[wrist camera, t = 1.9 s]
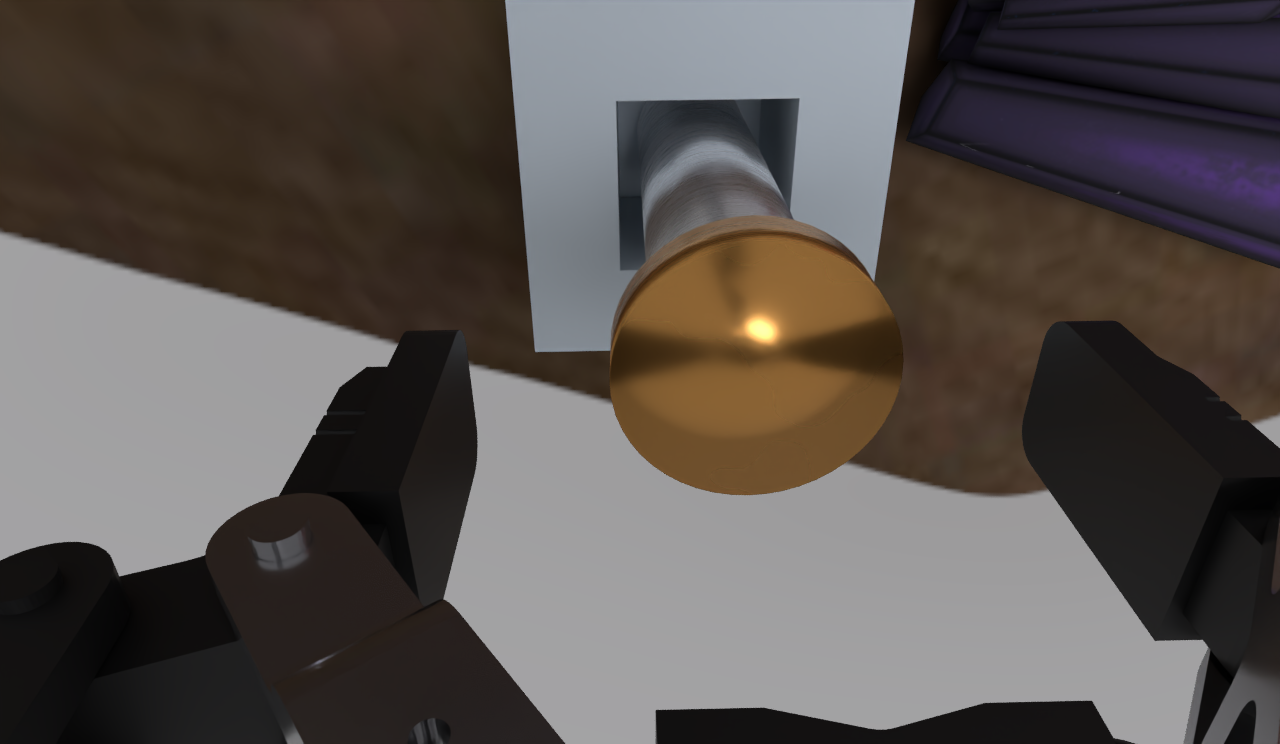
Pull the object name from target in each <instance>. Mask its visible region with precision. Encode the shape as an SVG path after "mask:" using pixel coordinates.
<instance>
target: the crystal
mask: <svg viewBox="0 0 1280 744" xmlns="http://www.w3.org/2000/svg"><path fill="white" fill-rule="evenodd" d="M937 60H941V61H947V62H948V64H947V65H946V66H945V68H944V69H943V70H942V71H941V73H940V74H939V75H938V76H937V78H936V79H935V80H934V82H933V83H932V84H931V85H930V87H929V88H928V89H927V91H926V92H925V93H924V94H923V96H922V97H921V100H920V103H919V105H918V108H917V111H916V114H915V117H914V119H913V122H912V125H911V128H910V131H909V133H908V136H907V139H906V141H908V142H911V143H914V144H917V145H920V146H923V147H926V148H929V149H932V150H935V151H937V152H940V153H943V154H946V155H949V156H952V157H955V158H958V159H961V160H964V161H967V162H970V163H973V164H975V165H978V166H981V167H984V168H987V169H990V170H993V171H996V172H999V173H1002V174H1005V175H1008V176H1011V177H1014V178H1016V179H1019V180H1022V181H1025V182H1028V183H1031V184H1034V185H1037V186H1040V187H1043V188H1046V189H1049V190H1052V191H1054V192H1057V193H1060V194H1063V195H1066V196H1069V197H1072V198H1075V199H1078V200H1081V201H1084V202H1087V203H1090V204H1093V205H1095V206H1098V207H1101V208H1104V209H1107V210H1110V211H1113V212H1116V213H1119V214H1122V215H1125V216H1128V217H1131V218H1133V219H1136V220H1139V221H1142V222H1145V223H1148V224H1151V225H1154V226H1157V227H1160V228H1163V229H1166V230H1169V231H1172V232H1174V233H1177V234H1180V235H1183V236H1186V237H1189V238H1192V239H1195V240H1198V241H1201V242H1204V243H1207V244H1210V245H1212V246H1215V247H1218V248H1221V249H1224V250H1227V251H1230V252H1233V253H1236V254H1239V255H1242V256H1245V257H1248V258H1251V259H1253V260H1256V261H1259V262H1262V263H1265V264H1268V265H1271V266H1274V267H1277V268H1280V0H958V2H957V4H956V6H955V8H954V10H953V12H952V14H951V16H950V18H949V21H948V23H947V25H946V27H945V30H944V32H943V34H942V36H941V40H940V46H939V52H938V58H937Z"/></svg>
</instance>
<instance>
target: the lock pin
mask: <svg viewBox="0 0 1280 744" xmlns="http://www.w3.org/2000/svg"><path fill="white" fill-rule="evenodd" d="M637 135H638V151H639V166H640V181H641V197H642V212H643V228H644V243H645V258H646V262H645V263H644V264H643V265H642V266H641V268H640V269H639V270H638V271H637V272H636V274H635V275H634V276H633V278H632V279H631V281H630V282H629V284H628V285H627V287H626V289H625V291H624V293H623V295H622V297H621V298H620V300H619V303H618V306H617V309H616V312H615V315H614V319H613V324H612V329H611V344H610V392H611V400H612V404H613V407H614V411H615V415H616V417H617V419H618V421H619V424H620V426H621V428H622V430H623V432H624V433H625V435H626V436H627V438H628V440H629V441H630V443H631V444H632V445H633V446H634V448H635V449H636V450H637V451H638V452H639V453H640V454H641V455H642V456H643V457H644V458H645V459H646V460H647V461H648V462H649V463H650V464H652V465H653V466H654V467H656V468H657V469H659V470H660V471H662V472H663V473H664V474H666V475H668V476H670V477H672V478H674V479H676V480H678V481H679V482H682V483H684V484H687V485H690V486H692V487H695V488H698V489H702V490H706V491H710V492H715V493H722V494H730V495H757V494H767V493H773V492H779V491H784V490H787V489H791V488H795V487H798V486H801V485H804V484H806V483H809V482H811V481H814V480H817V479H818V478H820V477H822V476H824V475H826V474H828V473H830V472H832V471H833V470H835V469H837V468H838V467H840V466H841V465H843V464H844V463H846V462H847V461H848V460H850V459H851V458H852V457H853V456H854V455H856V454H857V453H858V452H859V451H860V450H861V449H862V448H863V447H864V446H865V445H866V444H867V443H868V442H869V441H870V440H871V439H872V438H873V437H874V435H875V434H876V433H877V431H878V430H879V429H880V427H881V426H882V425H883V423H884V421H885V420H886V418H887V416H888V414H889V413H890V411H891V409H892V407H893V404H894V402H895V399H896V397H897V394H898V391H899V387H900V383H901V379H902V370H903V346H902V341H901V336H900V331H899V328H898V325H897V322H896V320H895V317H894V315H893V312H892V311H891V309H890V307H889V306H888V304H887V302H886V301H885V299H884V297H883V296H882V294H881V292H880V291H879V289H878V288H877V286H876V284H875V283H874V281H873V279H872V278H871V276H870V274H869V273H868V271H867V270H866V268H865V266H864V265H863V264H862V263H861V262H860V260H859V259H858V258H857V257H856V255H855V254H854V253H853V252H852V251H850V250H849V249H848V248H847V247H846V246H845V245H844V244H843V243H842V242H840V241H839V240H837V239H836V238H834V237H832V236H831V235H829V234H828V233H826V232H824V231H822V230H820V229H818V228H816V227H814V226H812V225H809V224H806V223H803V222H799V221H796V220H794V219H793V217H792V215H791V212H790V210H789V208H788V206H787V204H786V202H785V200H784V198H783V196H782V194H781V192H780V190H779V188H778V186H777V184H776V182H775V180H774V178H773V176H772V174H771V172H770V170H769V168H768V166H767V164H766V162H765V160H764V158H763V156H762V154H761V152H760V150H759V148H758V146H757V144H756V142H755V140H754V138H753V136H752V134H751V132H750V129H749V127H748V125H747V123H746V121H745V119H744V117H743V115H742V113H741V111H740V109H739V107H738V105H737V103H736V101H735V99H724V100H658V101H644V103H643V105H642V107H641V110H640V113H639V116H638V122H637Z"/></svg>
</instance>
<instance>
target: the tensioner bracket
mask: <svg viewBox="0 0 1280 744" xmlns="http://www.w3.org/2000/svg"><path fill="white" fill-rule="evenodd" d="M505 3H506V15H507V27H508V38H509V50H510V62H511V74H512V85H513V97H514V109H515V121H516V132H517V144H518V156H519V168H520V179H521V191H522V203H523V215H524V226H525V238H526V250H527V262H528V273H529V285H530V297H531V309H532V320H533V332H534V344H535V352H560V351H610V344H611V329H612V324H613V319H614V315H615V312H616V309H617V306H618V303H619V300H620V298H621V297H622V295H623V293H624V291H625V289H626V287H627V285H628V284H629V282H630V281H631V279H632V278H633V276H634V275H635V274H636V272H637V271H638V270H639V269H640V268H641V266H642V265H643V264H644V263H645V262H646V258H645V243H644V228H643V212H642V197H641V181H640V166H639V151H638V135H637V122H638V116H639V113H640V110H641V107H642V105H643V103H644V101H658V100H724V99H735V101H736V103H737V105H738V107H739V109H740V111H741V113H742V115H743V117H744V119H745V121H746V123H747V125H748V127H749V129H750V132H751V134H752V136H753V138H754V140H755V142H756V144H757V146H758V148H759V150H760V152H761V154H762V156H763V158H764V160H765V162H766V164H767V166H768V168H769V170H770V172H771V174H772V176H773V178H774V180H775V182H776V184H777V186H778V188H779V190H780V192H781V194H782V196H783V198H784V200H785V202H786V204H787V206H788V208H789V210H790V212H791V215H792V217H793V219H794V220H796V221H799V222H803V223H806V224H809V225H812V226H814V227H816V228H818V229H820V230H822V231H824V232H826V233H828V234H829V235H831V236H832V237H834V238H836V239H837V240H839V241H840V242H842V243H843V244H844V245H845V246H846V247H847V248H848V249H849V250H850V251H852V252H853V253H854V254H855V255H856V257H857V258H858V259H859V260H860V262H861V263H862V264H863V265H864V266H865V268H866V270H867V271H868V273H869V274H870V276H871V278H872V279H873V281H874V278H875V271H876V265H877V258H878V251H879V244H880V237H881V230H882V223H883V216H884V209H885V203H886V196H887V189H888V182H889V175H890V168H891V161H892V154H893V147H894V141H895V134H896V127H897V120H898V113H899V106H900V99H901V92H902V85H903V79H904V72H905V65H906V58H907V51H908V44H909V37H910V30H911V24H912V17H913V10H914V3H915V0H505Z"/></svg>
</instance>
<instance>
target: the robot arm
mask: <svg viewBox="0 0 1280 744" xmlns="http://www.w3.org/2000/svg"><path fill="white" fill-rule="evenodd" d="M1219 398H1220V397H1219V396H1218V395H1217V394H1216V393H1215V392H1213V391H1212V390H1211V389H1210V388H1209V387H1208V386H1206V385H1205V384H1204V383H1203V382H1202V381H1201V380H1199V379H1198V378H1197V377H1196V376H1195V375H1194V374H1192V373H1190V372H1188V371H1186V370H1184V369H1182V368H1180V367H1178V366H1176V365H1174V364H1172V363H1170V362H1168V361H1166V360H1164V359H1162V358H1160V357H1158V356H1157V355H1156V354H1154V353H1153V352H1152V351H1151V350H1150V349H1149V348H1148V347H1147V346H1145V345H1144V344H1143V343H1142V342H1141V341H1140V340H1139V339H1137V338H1136V337H1135V336H1134V335H1133V334H1132V333H1131V332H1129V331H1128V330H1127V329H1126V328H1125V327H1124V326H1123V325H1121V324H1120V323H1119V322H1116V321H1067V322H1056V323H1055V324H1053V325H1052V326H1051V327H1050V328H1049V330H1048V331H1047V333H1046V336H1045V338H1044V341H1043V345H1042V349H1041V353H1040V357H1039V360H1038V364H1037V368H1036V372H1035V376H1034V380H1033V383H1032V387H1031V391H1030V395H1029V399H1028V402H1027V406H1026V410H1025V414H1024V418H1023V425H1022V439H1023V446H1024V450H1025V453H1026V456H1027V459H1028V461H1029V462H1030V464H1031V466H1032V467H1033V468H1034V470H1035V471H1036V473H1037V474H1038V476H1039V477H1040V478H1041V480H1042V481H1043V483H1044V484H1045V485H1046V487H1047V488H1048V490H1049V491H1050V493H1051V494H1052V495H1053V497H1054V498H1055V500H1056V501H1057V502H1058V504H1059V505H1060V507H1061V508H1062V509H1063V511H1064V512H1065V514H1066V515H1067V517H1068V518H1069V520H1070V521H1071V522H1072V524H1073V525H1074V527H1075V528H1076V529H1077V531H1078V532H1079V534H1080V535H1081V537H1082V538H1083V539H1084V541H1085V542H1086V544H1087V545H1088V547H1089V548H1090V549H1091V551H1092V552H1093V553H1094V555H1095V556H1096V558H1097V559H1098V561H1099V562H1100V563H1101V565H1102V566H1103V568H1104V569H1105V570H1106V572H1107V574H1108V575H1109V576H1110V578H1111V579H1112V581H1113V582H1114V583H1115V585H1116V586H1117V588H1118V589H1119V591H1120V592H1121V593H1122V595H1123V596H1124V598H1125V599H1126V600H1127V602H1128V603H1129V605H1130V606H1131V607H1132V609H1133V610H1134V612H1135V613H1136V614H1137V616H1138V617H1139V619H1140V620H1141V622H1142V623H1143V624H1144V626H1145V627H1146V629H1147V630H1148V632H1149V633H1150V635H1151V636H1152V637H1153V639H1154V640H1155V641H1159V640H1203V641H1204V642H1205V643H1206V644H1207V646H1208V647H1209V648H1208V650H1207V652H1206V654H1205V656H1204V658H1203V660H1202V663H1201V665H1200V667H1199V670H1198V674H1197V678H1196V684H1195V688H1194V694H1193V699H1192V704H1191V709H1190V714H1189V719H1188V724H1187V729H1186V734H1185V739H1184V744H1280V448H1279V447H1278V446H1276V445H1275V444H1274V443H1273V442H1272V441H1271V440H1269V439H1268V438H1267V437H1266V436H1265V435H1264V434H1262V433H1261V432H1260V431H1259V430H1258V429H1256V428H1255V427H1254V426H1253V425H1252V424H1251V423H1250V422H1248V421H1247V420H1241V415H1240V414H1239V413H1238V412H1237V411H1236V410H1234V409H1233V408H1232V407H1231V406H1230V405H1229V404H1227V403H1226V402H1225V401H1220V400H1219ZM476 462H477V427H476V418H475V410H474V402H473V395H472V388H471V379H470V371H469V363H468V355H467V348H466V342H465V338H464V335H463V333H462V331H461V330H435V331H406V332H405V333H404V334H403V336H402V338H401V340H400V342H399V344H398V346H397V348H396V350H395V352H394V354H393V356H392V358H391V360H390V362H389V365H388V367H366V368H365V369H363V370H362V371H361V372H359V373H358V374H357V375H356V376H354V377H353V378H352V379H350V380H349V381H348V382H346V383H345V384H344V385H342V386H341V387H340V388H339V390H338V392H337V393H336V395H335V397H334V399H333V400H332V402H331V404H330V406H329V408H328V409H327V415H324V416H323V419H322V420H321V422H320V424H319V426H318V427H317V429H316V435H313V436H312V438H311V440H310V441H309V443H308V445H307V447H306V449H305V450H304V452H303V454H302V456H301V458H300V460H299V461H298V463H297V465H296V466H295V468H294V470H293V472H292V474H291V475H290V477H289V479H288V481H287V482H286V484H285V486H284V488H283V490H282V492H281V493H280V495H279V496H278V497H274V498H270V499H267V500H264V501H261V502H259V503H256V504H254V505H252V506H250V507H248V508H246V509H244V510H242V511H241V512H239V513H237V514H236V515H234V516H233V517H231V518H230V519H229V520H227V521H226V522H225V523H224V524H223V525H222V526H221V527H220V528H219V529H218V530H217V531H216V532H215V534H214V535H213V536H212V538H211V540H210V542H209V543H208V546H207V549H206V555H204V556H202V557H199V558H195V559H192V560H188V561H184V562H180V563H175V564H172V565H167V566H163V567H158V568H154V569H150V570H145V571H141V572H137V573H132V574H128V575H124V576H120V577H119V575H118V573H117V570H116V568H115V566H114V563H113V561H112V558H111V557H110V555H109V554H108V553H107V552H106V551H105V550H104V549H102V548H100V547H99V546H96V545H92V544H89V543H81V542H63V543H54V544H48V545H44V546H39V547H36V548H32V549H29V550H25V551H22V552H20V553H17V554H14V555H12V556H9V557H7V558H5V559H3V560H1V561H0V744H565V743H564V742H563V740H562V739H561V738H560V737H559V736H558V734H557V733H556V732H555V731H554V729H553V728H552V727H551V726H550V724H549V723H548V722H547V721H546V719H545V718H544V717H543V716H542V714H541V713H540V712H539V711H538V710H537V708H536V707H535V706H534V705H533V703H532V702H531V701H530V700H529V698H528V697H527V696H526V695H525V693H524V692H523V691H522V690H521V689H520V687H519V686H518V685H517V684H516V682H515V681H514V680H513V679H512V677H511V676H510V675H509V674H508V673H507V671H506V670H505V669H504V668H503V666H502V665H501V664H500V663H499V661H498V660H497V659H496V658H495V656H494V655H493V654H492V653H491V652H490V650H489V649H488V648H487V647H486V645H485V644H484V643H483V642H482V640H481V639H480V638H479V637H478V636H477V634H476V633H475V632H474V631H473V630H472V628H471V627H470V626H469V624H468V623H467V622H466V621H465V620H464V618H463V617H462V616H461V615H460V613H459V612H458V611H457V610H456V609H455V608H454V607H453V606H452V605H451V604H450V603H449V602H447V601H446V600H443V598H444V594H445V590H446V586H447V582H448V578H449V574H450V570H451V566H452V562H453V558H454V554H455V550H456V546H457V542H458V538H459V534H460V530H461V526H462V522H463V518H464V514H465V510H466V506H467V502H468V498H469V494H470V490H471V486H472V482H473V478H474V474H475V469H476ZM656 744H1135V743H1131V742H1128V741H1125V740H1120V739H1115V738H1113V737H1112V735H1111V733H1110V732H1109V730H1108V728H1107V726H1106V724H1105V723H1104V721H1103V719H1102V718H1101V716H1100V714H1099V712H1098V711H1097V709H1096V707H1095V706H1094V704H1093V702H1092V701H1060V702H1059V701H1057V702H1009V703H983V704H980V705H977V706H973V707H969V708H965V709H962V710H958V711H955V712H951V713H947V714H944V715H940V716H936V717H933V718H929V719H925V720H922V721H918V722H915V723H911V724H908V725H904V726H900V727H897V728H893V729H887V730H875V729H868V728H863V727H858V726H853V725H848V724H843V723H838V722H833V721H828V720H823V719H818V718H812V717H807V716H802V715H797V714H792V713H787V712H782V711H777V710H772V709H767V708H733V709H732V708H730V709H686V710H685V709H684V710H656Z"/></svg>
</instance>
